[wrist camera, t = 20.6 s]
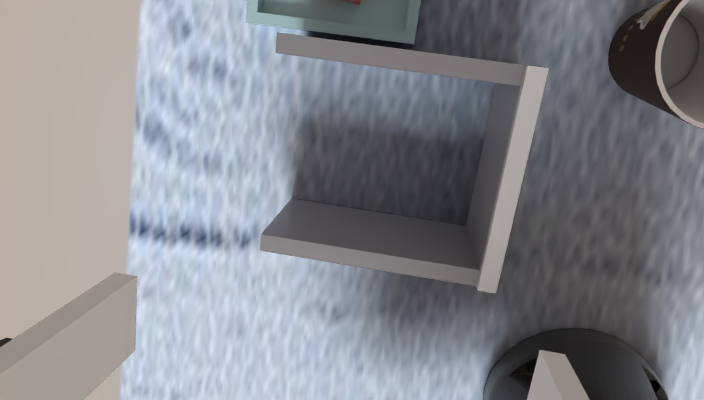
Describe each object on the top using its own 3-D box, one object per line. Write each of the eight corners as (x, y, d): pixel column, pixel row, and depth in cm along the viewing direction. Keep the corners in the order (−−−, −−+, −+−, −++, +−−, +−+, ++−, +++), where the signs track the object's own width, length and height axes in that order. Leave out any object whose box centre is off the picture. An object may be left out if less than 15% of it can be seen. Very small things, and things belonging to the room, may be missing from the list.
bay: (515, 65, 38) (548, 68, 28) (477, 241, 42) (495, 293, 33) (307, 37, 39) (274, 31, 30) (290, 211, 43) (257, 253, 34)
